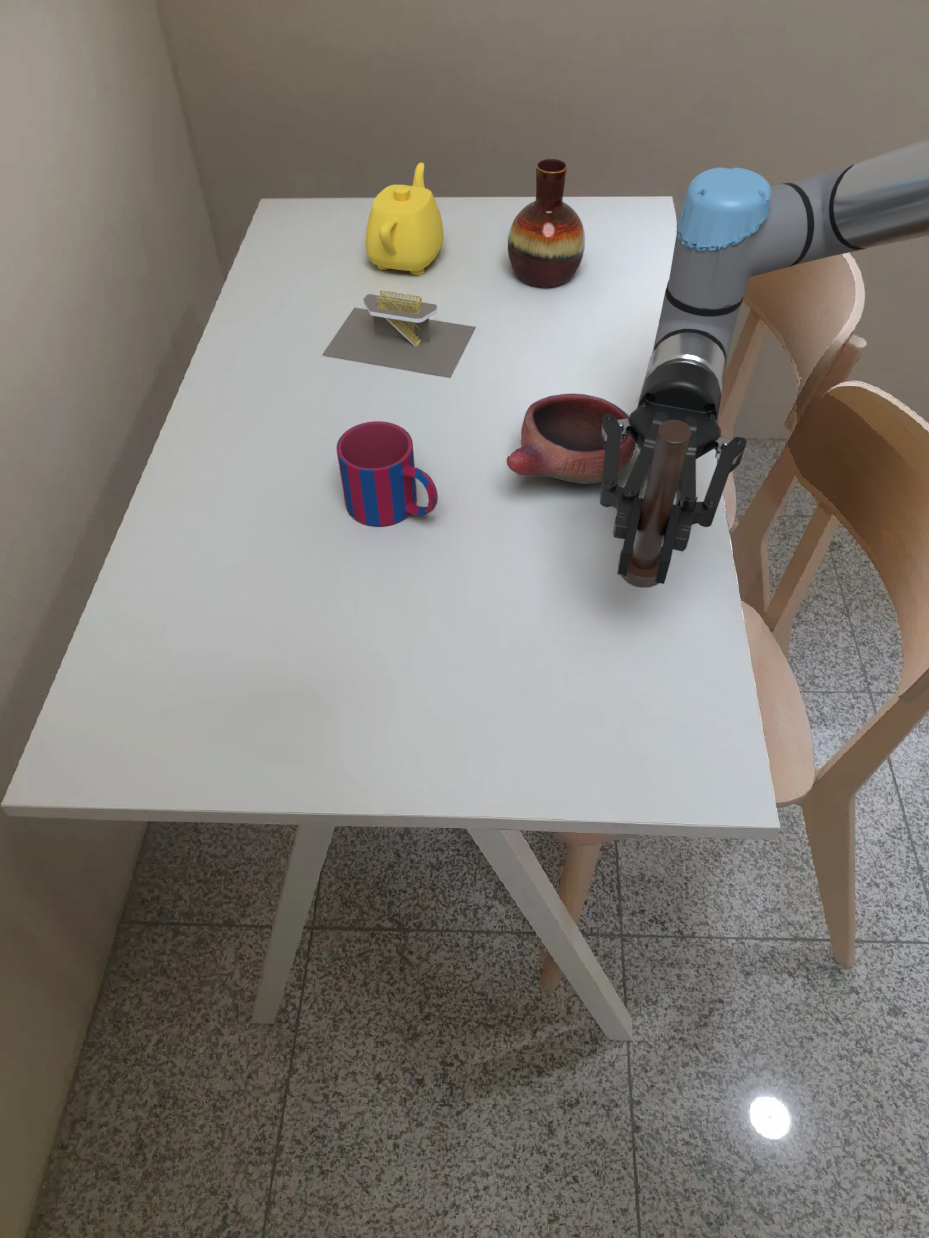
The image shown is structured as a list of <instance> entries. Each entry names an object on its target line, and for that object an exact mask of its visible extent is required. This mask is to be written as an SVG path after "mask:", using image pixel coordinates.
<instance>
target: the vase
mask: <svg viewBox="0 0 929 1238" xmlns="http://www.w3.org/2000/svg"><path fill="white" fill-rule="evenodd" d="M567 170H568V164H567V163H566V162H565V161H563V160H561V159H557V158H544V159H541V160H539V161H538V162H537V163H536V164H535V186H536V187H535V200H533V201H532V202H530V203H528V204H527V205H525V206H524V207H523V208H522V209H521V210H520V211H519V212H518V213H517V215H516V216H515V217H514V219H513V220H512V223H511V225H510V228H509V230H508V237H507V254H508V259H509V262H510V266H511V268H512V271H513V272H514V273H515V275H516V276H517V277H518V279H519V280H521V281H522V282H523V283H525V284H526V285H529V286H533V287H537V288H553V287H559V286H561V285H563V284H565V283H566V282H568V281H569V280H570V279H572V277H573V276H574V275H575V274H576V272H577V271H578V269H579V268H580V265H581V263H582V260H583V257H584V254H585V247H586V233H585V227H584V224H583V222H582V219H581V218H580V216H579V215H578V214H577V212H576V211H575V210H574V208H572V207H571V206H570V205H569V204H567V203H566V202H564V192H565V191H564V189H565V183H566V177H567V172H568V171H567Z"/></svg>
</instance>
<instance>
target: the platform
mask: <svg viewBox="0 0 929 1238" xmlns="http://www.w3.org/2000/svg"><path fill="white" fill-rule="evenodd" d="M362 300H363V305H364V306H365V308H360V307H353V309H352V310H351V312H350V313H349V315H348V316H347V317H346V319H345V320H344V322H343V324H341V326H340V328H339V329H338V331H337V332H336V334H335V335H334V337H333V338H332V340H330V343H329V344H328V345H327V346H326V348H325V349H324V351H323V353H322V354H321V355H322V356H324V357H329V358H336V359H341V360H346V361H353V362H359V363H365V364H371V365H376V366H382V367H387V368H394V369H399V370H403V371H404V370H406V371H410V372H417V373H422V374H428V375H434V376H439V377H445V378H451V377H452V375H453V373H454V371H455V369H456V368H457V365H458V364H459V361H460V359H461V357H462V356H463V353H464V351H465V349H466V348H467V345H468V344H469V342H470V340H471V337H472V335H473V334H474V332H475V330H476V326H473V325H466V324H461V323H455V322H454V323H453V322H449V321H442V320H436V319H430V318H431V317H433V316H434V315H436V313H437V311H438V305H437V304H435V303H430V302H422V301H423V300H422V296H421V295H415V294H408V293H403V292H395V291H390V290H383V289H380V290H379V294H372V293H368V294H366V295H365V296H364V298H363V299H362Z"/></svg>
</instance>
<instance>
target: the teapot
mask: <svg viewBox="0 0 929 1238" xmlns="http://www.w3.org/2000/svg"><path fill="white" fill-rule="evenodd" d="M424 174H425V163H424V162H419V163H418V164H417V165H416V167H415V169H414V175H413V181H412V184H411V185H407V184H390V185H388V186H386V187H385V188H383V189H382V190H381V191H380V192H379V193H378V194H377V195H376V196H375V198H374V200H373V202H372V205H371V207H370V212H369V215H368V220H367V224H366V230H365V251H366V254H367V256H368V258H369V260H370V261H371V262H372V263H373V264H374V265H375V266H376V267H377V269H379V270H381V271H387V270H390V269H392V270H397V271H406V272H410V274H412V275H414V276H419V275H423V274H424V273H425V268H427V267H428V266H430V264H431V263H433V262H434V260H435V258H437V256H438V254H439V252H440V250H441V248H442V246H443V242H444V235H445V234H444V225H443V218H442V215H441V212H440V209H439V206H438V204H437V200H436V199H435V196H434V194H433V192H432V191H431V190H430V189H429V188H426V187H425V181H424V179H425V178H424Z"/></svg>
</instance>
